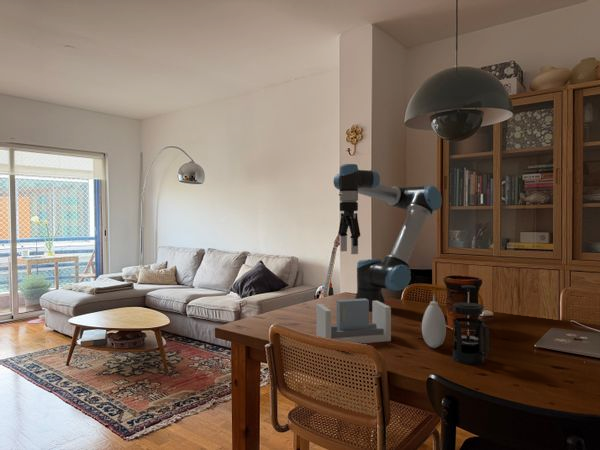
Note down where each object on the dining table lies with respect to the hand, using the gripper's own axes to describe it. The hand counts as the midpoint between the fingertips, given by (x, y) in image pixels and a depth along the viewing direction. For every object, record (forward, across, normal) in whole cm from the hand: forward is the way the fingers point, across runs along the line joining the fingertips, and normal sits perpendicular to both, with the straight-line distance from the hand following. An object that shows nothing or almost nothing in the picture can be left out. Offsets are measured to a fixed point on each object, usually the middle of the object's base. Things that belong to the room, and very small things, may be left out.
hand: (348, 252), depth 180 cm
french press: (+29, +54, +20) cm, 64 cm away
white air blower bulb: (+29, +40, +16) cm, 52 cm away
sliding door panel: (+27, +24, -7) cm, 37 cm away
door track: (+29, +24, -7) cm, 38 cm away
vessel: (+29, +20, +40) cm, 53 cm away
